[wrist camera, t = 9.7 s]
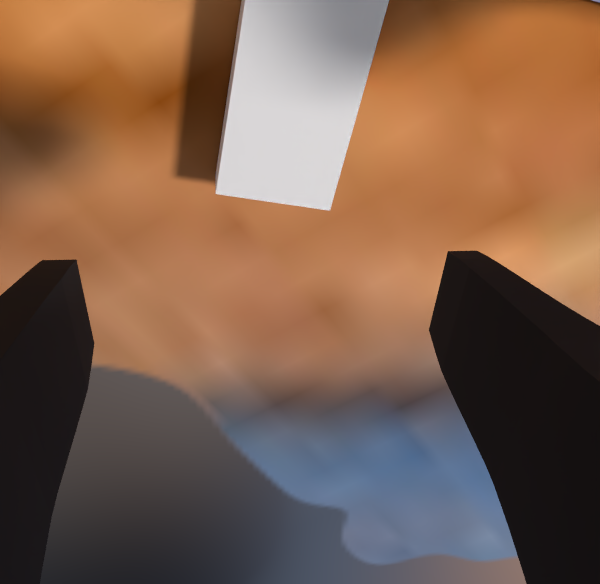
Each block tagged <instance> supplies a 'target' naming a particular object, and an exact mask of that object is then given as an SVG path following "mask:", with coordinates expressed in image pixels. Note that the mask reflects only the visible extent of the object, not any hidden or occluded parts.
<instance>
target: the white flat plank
mask: <svg viewBox="0 0 600 584" xmlns="http://www.w3.org/2000/svg"><path fill="white" fill-rule="evenodd" d="M388 3H389V0H242V1H241V7H240V14H239V21H238V27H237V34H236V41H235V47H234V54H233V61H232V68H231V74H230V81H229V88H228V94H227V101H226V108H225V114H224V121H223V128H222V135H221V141H220V148H219V155H218V161H217V168H216V175H215V178H216V194H220V195H227V196H234V197H241V198H247V199H254V200H261V201H268V202H275V203H282V204H288V205H295V206H302V207H309V208H316V209H322V210H329V211H330V208H331V205H332V201H333V198H334V194H335V190H336V187H337V183H338V180H339V176H340V173H341V169H342V166H343V162H344V159H345V155H346V152H347V148H348V144H349V141H350V137H351V134H352V130H353V127H354V123H355V120H356V116H357V113H358V109H359V105H360V102H361V98H362V95H363V91H364V88H365V84H366V81H367V77H368V74H369V70H370V67H371V63H372V59H373V56H374V52H375V49H376V45H377V42H378V38H379V35H380V31H381V28H382V24H383V20H384V17H385V13H386V10H387V6H388Z"/></svg>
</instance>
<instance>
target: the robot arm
mask: <svg viewBox="0 0 600 584" xmlns="http://www.w3.org/2000/svg"><path fill="white" fill-rule="evenodd" d="M592 1H596V2H600V0H592ZM429 331H430V335H431V338H432V342H433V345H434V349H435V352H436V355H437V359H438V362H439V365H440V368H441V371H442V373H443V375H444V378H445V380H446V382H447V384H448V386H449V389H450V391H451V393H452V395H453V397H454V399H455V401H456V404H457V406H458V408H459V410H460V412H461V414H462V416H463V418H464V420H465V422H466V424H467V427H468V429H469V431H470V433H471V435H472V437H473V439H474V441H475V443H476V445H477V448H478V450H479V452H480V454H481V456H482V458H483V460H484V462H485V465H486V467H487V469H488V472H489V474H490V476H491V479H492V481H493V484H494V486H495V489H496V492H497V495H498V498H499V501H500V504H501V506H502V509H503V512H504V515H505V518H506V521H507V524H508V527H509V529H510V533H511V536H512V539H513V542H514V545H515V548H516V551H517V555H518V558H519V561H520V564H521V567H522V570H523V573H524V576H525V580H526V583H527V584H600V326H599V325H597V324H595V323H593V322H592V321H590V320H588V319H586V318H585V317H583V316H581V315H580V314H578V313H576V312H575V311H573V310H571V309H570V308H568V307H566V306H565V305H563V304H562V303H560V302H558V301H557V300H555V299H554V298H552V297H551V296H549V295H547V294H546V293H544V292H543V291H541V290H540V289H538V288H537V287H535V286H533V285H532V284H530V283H529V282H527V281H526V280H524V279H523V278H521V277H520V276H518V275H517V274H515V273H513V272H512V271H510V270H509V269H507V268H506V267H504V266H502V265H501V264H499V263H498V262H496V261H494V260H493V259H491V258H489V257H488V256H486V255H484V254H482V253H480V252H478V251H448V254H447V258H446V262H445V266H444V270H443V274H442V278H441V283H440V287H439V291H438V295H437V299H436V303H435V307H434V311H433V316H432V320H431V324H430V328H429ZM93 349H94V340H93V336H92V331H91V326H90V321H89V317H88V312H87V307H86V303H85V298H84V293H83V289H82V284H81V279H80V274H79V270H78V265H77V260H42V261H41V262H39V263H38V264H37V265H35V266H34V267H33V268H32V269H31V270H29V271H28V272H27V273H26V274H25V275H24V276H22V277H21V278H20V279H19V280H18V281H17V282H16V283H14V284H13V285H12V286H11V287H10V288H9V289H8V290H6V291H5V292H4V293H3V294H2V295H1V296H0V584H40V579H41V573H42V566H43V561H44V555H45V550H46V544H47V539H48V533H49V528H50V522H51V516H52V513H53V509H54V505H55V501H56V497H57V493H58V489H59V486H60V483H61V479H62V476H63V472H64V469H65V465H66V462H67V459H68V455H69V452H70V449H71V445H72V442H73V439H74V435H75V432H76V428H77V425H78V421H79V418H80V414H81V411H82V408H83V404H84V400H85V397H86V393H87V390H88V384H89V377H90V371H91V364H92V356H93Z"/></svg>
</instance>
